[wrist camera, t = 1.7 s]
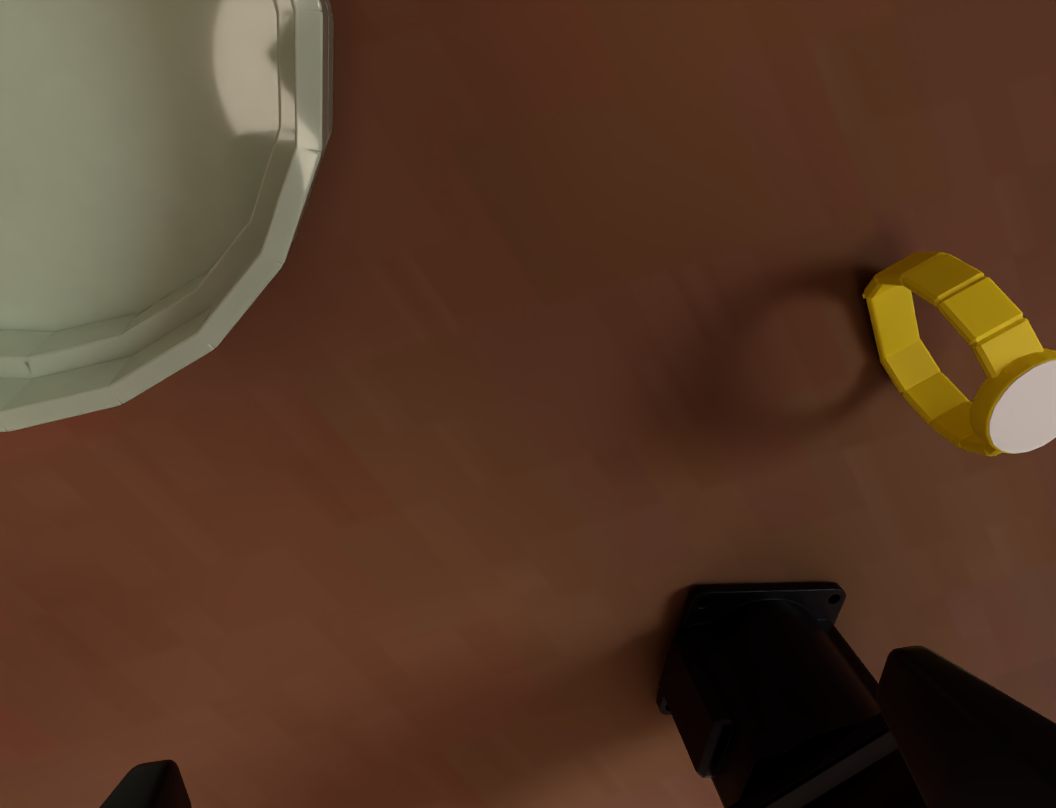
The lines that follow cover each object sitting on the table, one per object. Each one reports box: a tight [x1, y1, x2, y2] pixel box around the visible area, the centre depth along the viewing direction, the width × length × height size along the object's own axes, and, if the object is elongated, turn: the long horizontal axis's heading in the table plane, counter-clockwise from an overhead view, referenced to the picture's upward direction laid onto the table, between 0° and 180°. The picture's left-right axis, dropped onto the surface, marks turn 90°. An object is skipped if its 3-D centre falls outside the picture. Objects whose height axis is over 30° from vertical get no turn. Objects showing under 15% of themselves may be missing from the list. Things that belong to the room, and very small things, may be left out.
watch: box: [862, 252, 1056, 456], centre depth 20 cm, size 6×3×6 cm, turn 28°
